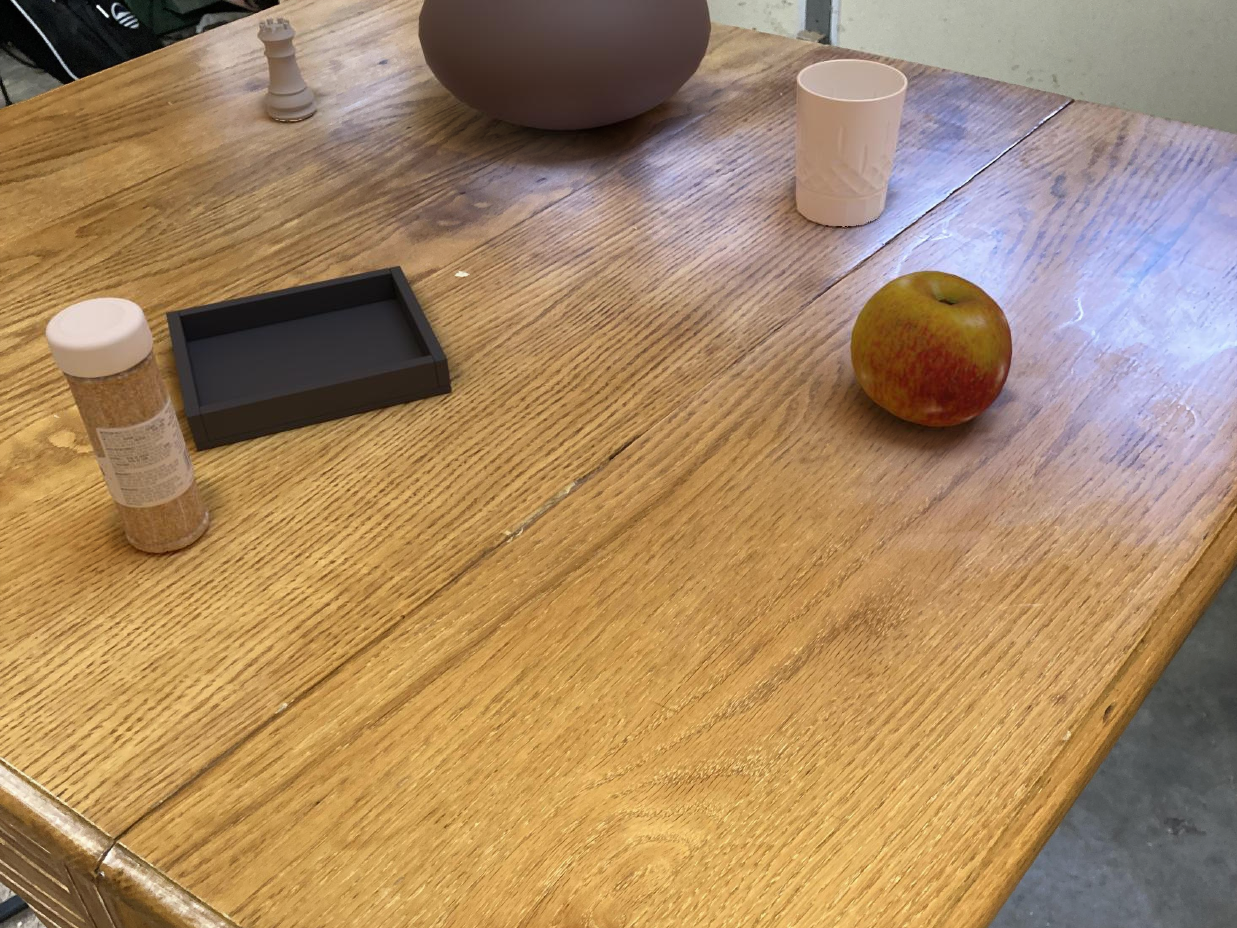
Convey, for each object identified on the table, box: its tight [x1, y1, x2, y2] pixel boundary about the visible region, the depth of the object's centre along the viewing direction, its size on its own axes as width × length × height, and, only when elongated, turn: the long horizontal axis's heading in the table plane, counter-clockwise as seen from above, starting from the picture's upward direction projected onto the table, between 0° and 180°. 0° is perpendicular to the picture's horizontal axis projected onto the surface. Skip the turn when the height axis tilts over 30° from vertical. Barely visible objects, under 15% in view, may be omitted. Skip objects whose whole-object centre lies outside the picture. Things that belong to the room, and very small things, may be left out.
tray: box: [165, 265, 453, 452], centre depth 78 cm, size 16×13×2 cm
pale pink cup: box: [794, 58, 909, 228], centre depth 90 cm, size 8×8×10 cm
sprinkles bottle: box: [45, 297, 211, 554], centre depth 62 cm, size 5×5×13 cm
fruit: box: [849, 270, 1013, 428], centre depth 71 cm, size 10×9×8 cm
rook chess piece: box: [256, 17, 318, 121], centre depth 107 cm, size 4×4×8 cm
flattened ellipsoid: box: [417, 0, 712, 131], centre depth 104 cm, size 25×25×15 cm
